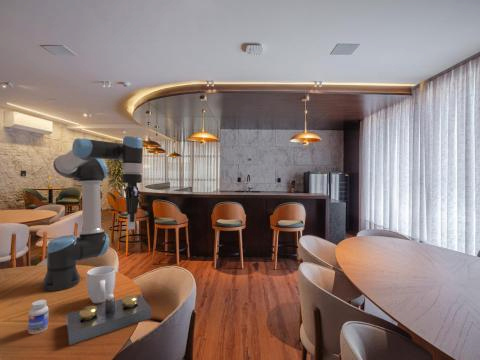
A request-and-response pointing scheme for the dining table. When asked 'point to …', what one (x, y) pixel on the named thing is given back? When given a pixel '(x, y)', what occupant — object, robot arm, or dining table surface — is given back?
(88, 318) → the near knob
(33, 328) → the pill bottle
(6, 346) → the dining table surface
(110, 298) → the pot post
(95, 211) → the robot arm
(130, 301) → the far knob
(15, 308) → the dining table surface
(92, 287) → the mug
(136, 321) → the mount plate
